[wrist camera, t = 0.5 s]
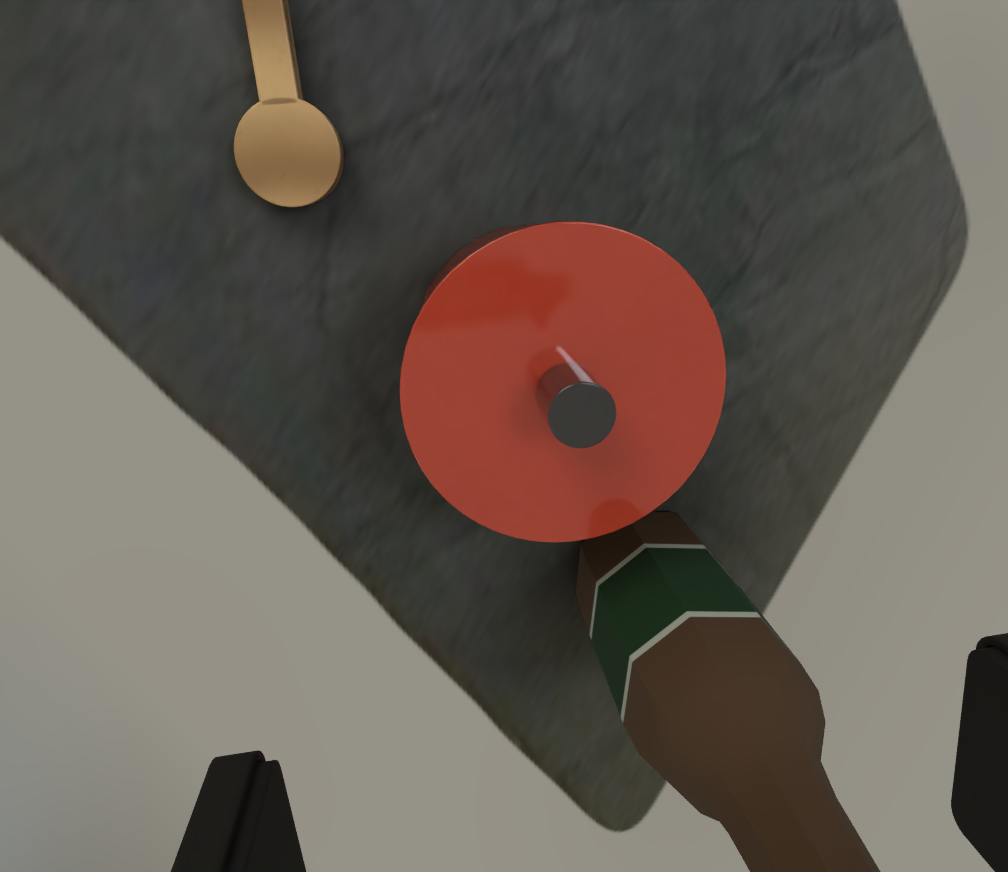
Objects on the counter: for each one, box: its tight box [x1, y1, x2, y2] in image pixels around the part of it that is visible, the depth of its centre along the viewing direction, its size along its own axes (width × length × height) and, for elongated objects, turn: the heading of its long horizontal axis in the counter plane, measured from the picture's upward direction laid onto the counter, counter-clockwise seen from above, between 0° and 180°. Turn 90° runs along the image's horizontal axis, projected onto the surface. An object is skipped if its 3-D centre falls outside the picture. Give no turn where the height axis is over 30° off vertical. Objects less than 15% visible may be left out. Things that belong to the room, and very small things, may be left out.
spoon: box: [234, 0, 344, 207], centre depth 31 cm, size 13×4×2 cm, turn 5°
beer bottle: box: [575, 512, 880, 872], centre depth 30 cm, size 8×8×24 cm
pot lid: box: [400, 221, 726, 542], centre depth 28 cm, size 13×13×4 cm
